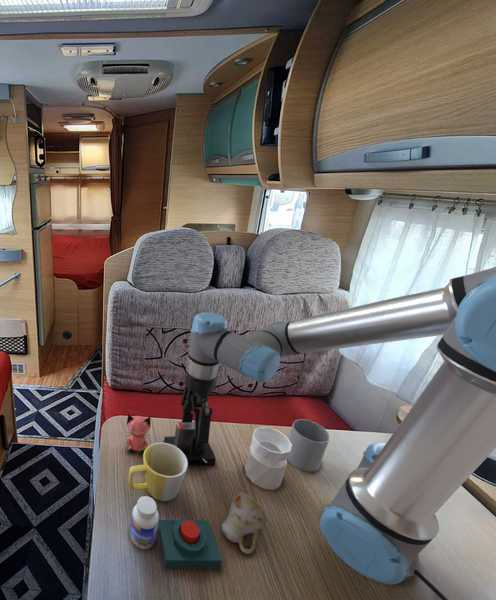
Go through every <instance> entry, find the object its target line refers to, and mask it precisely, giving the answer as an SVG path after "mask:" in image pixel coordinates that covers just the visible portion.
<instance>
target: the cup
mask: <svg viewBox="0 0 496 600" xmlns="http://www.w3.org/2000/svg"><path fill="white" fill-rule="evenodd" d="M288 439H289V441H290V442H291V444H292V448H291V452H290V456H289V457H288V458H287V462H289V463H290V464H291V465H292V466H293V467H294V468H297V469H299V470H302V471H305V472H309V473H310V472H311V473H312V472H317V471H318V470H319V468H320V467H321V465H322V461H323V459H324V455H325V453H326V450H327V447H328V444H329V442H330V439H331V438H330V433H329V432H328V431H327V430H326V428H324V426H322V425H320V424H318V422H314V421H312V420H310V419H303V418H300V419H296V420H294V421H293V423H292V425H291V428H290V432H289V435H288Z"/></svg>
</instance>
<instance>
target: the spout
mask: <svg viewBox="0 0 496 600" xmlns="http://www.w3.org/2000/svg"><path fill="white" fill-rule="evenodd" d="M192 435H194V421H192V422H183V423H182V421H178V422H176V425H175V432H174V436H175V439H174V446H176V447H177V448H179V449H180V450H181V451H190V447H191V441H192V438H191V436H192ZM205 448H206V443H203V445H202V450H205Z"/></svg>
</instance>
